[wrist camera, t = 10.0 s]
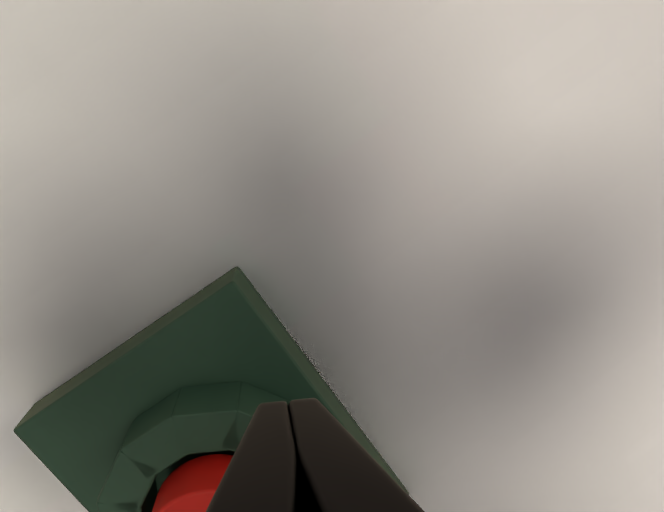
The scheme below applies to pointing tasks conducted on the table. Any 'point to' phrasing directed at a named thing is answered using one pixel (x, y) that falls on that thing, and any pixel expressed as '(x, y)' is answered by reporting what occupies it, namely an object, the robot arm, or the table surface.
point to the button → (192, 484)
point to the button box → (174, 398)
